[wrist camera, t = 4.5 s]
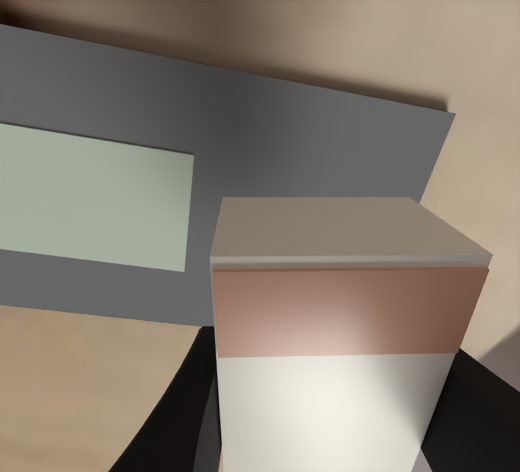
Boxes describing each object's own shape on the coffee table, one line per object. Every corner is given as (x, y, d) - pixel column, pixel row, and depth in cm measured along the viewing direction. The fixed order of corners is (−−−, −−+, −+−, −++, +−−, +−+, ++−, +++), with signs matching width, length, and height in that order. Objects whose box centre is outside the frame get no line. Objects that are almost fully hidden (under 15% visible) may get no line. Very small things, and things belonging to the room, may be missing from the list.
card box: (361, 407, 12) (398, 512, 9) (231, 411, 12) (226, 519, 9) (409, 196, 8) (496, 257, 6) (223, 197, 8) (209, 259, 5)
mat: (0, 297, 18) (-9, 305, 18) (-62, 12, 12) (-78, 8, 12) (358, 337, 21) (361, 345, 20) (448, 112, 15) (457, 113, 14)
